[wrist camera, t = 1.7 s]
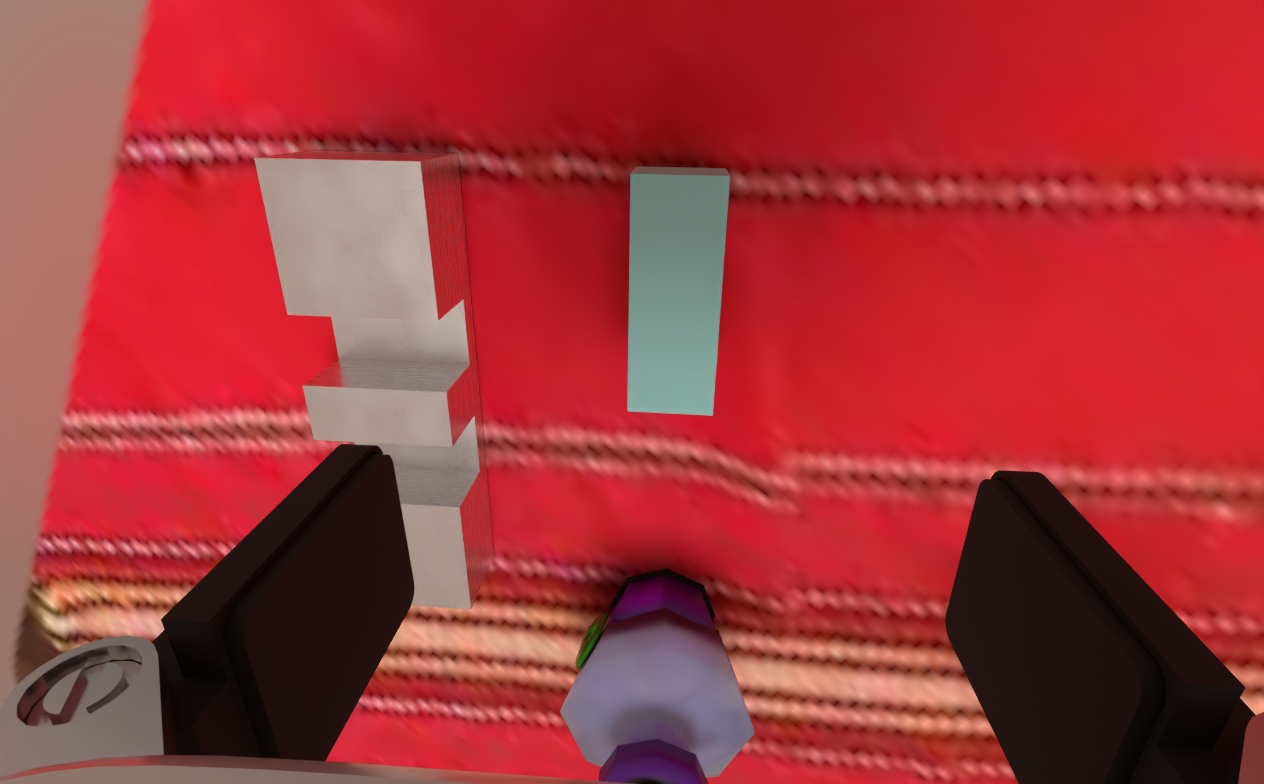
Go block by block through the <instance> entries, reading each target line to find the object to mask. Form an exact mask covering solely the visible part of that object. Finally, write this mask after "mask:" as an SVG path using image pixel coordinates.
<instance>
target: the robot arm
mask: <svg viewBox="0 0 1264 784" xmlns="http://www.w3.org/2000/svg"><path fill="white" fill-rule="evenodd" d="M414 589H415V586H414V578H413V573H412V567H411V561H410V555H409V550H408V544H407V538H406V532H405V527H404V521H403V515H402V509H401V504H400V498H399V492H398V486H397V481H396V475H395V469H394V464H393V460H392V458H391V456H389V455H386V454H383V452H382V450H381V448H380V447H378V446H377V445H354V444H341V445H340V446H338V447H337V448H336V449H335V450H334V451H333V452H332V453H331V454H330V455H329V456H328V457H327V458H326V459H325V460H324V461H323V462H322V463H321V464H319V465H318V466H317V467H316V468H315V469H314V470H313V471H312V472H311V473H310V474H309V475H308V476H307V477H306V478H305V479H304V480H303V481H302V482H301V483H300V484H299V485H298V486H297V487H296V488H295V489H294V490H293V491H292V492H291V493H290V494H289V495H288V496H287V497H286V498H285V499H284V500H283V501H282V502H281V503H280V504H279V505H278V506H277V507H276V508H275V509H273V510H272V511H271V512H270V513H269V514H268V515H267V516H266V517H265V518H264V519H263V520H262V521H261V522H260V523H259V524H258V525H257V526H256V527H255V528H254V529H253V530H252V531H251V532H250V533H249V534H248V535H247V536H246V537H245V538H244V539H243V540H242V541H241V542H240V543H239V544H238V545H237V546H236V547H235V548H234V549H233V550H232V551H231V552H230V553H228V554H227V555H226V556H225V557H224V558H223V559H222V560H221V561H220V562H219V563H218V564H217V565H216V566H215V567H214V568H213V569H212V570H211V571H210V572H209V573H208V574H207V575H206V576H205V577H204V578H203V579H202V580H201V581H200V582H199V583H198V584H197V585H196V586H195V587H194V588H193V589H192V590H191V591H190V592H189V593H188V594H187V595H186V596H185V597H184V598H182V599H181V600H180V601H179V602H178V603H177V604H176V605H175V606H174V607H173V608H172V609H171V610H170V611H169V612H168V613H167V614H166V615H165V616H164V617H163V618H162V619H161V621H162V623H163V626H164V629H165V630H164V631H163V632H162V633H161V634H160V635H159V636H158V637H157V638H156V639H155V640H154V641H153V642H152V643H151V642H149V641H147V640H146V639H144V638H140V637H133V636H120V637H110V638H105V639H101V640H98V641H94V642H90V643H87V644H84V645H81V646H79V647H77V648H74V649H72V650H70V651H67V652H65V653H63V654H61V655H59V656H57V657H56V658H54V659H52V660H51V661H49V662H47V663H45V664H44V665H42V666H40V667H39V668H37V669H36V670H35V671H34V672H32V673H31V674H30V675H29V676H27V677H26V678H25V679H24V680H22V681H21V682H20V683H19V684H18V685H17V686H16V687H15V688H14V690H13V691H12V692H11V693H10V694H9V695H8V696H7V698H6V699H5V700H4V702H3V705H2V707H1V709H0V784H631V783H618V782H605V781H592V780H579V779H566V778H553V777H540V776H526V775H512V774H498V773H484V772H471V771H457V770H443V769H429V768H415V767H401V766H387V765H374V764H360V763H346V762H328V761H325V760H326V759H327V757H328V755H329V753H330V751H331V750H332V748H333V746H334V744H335V742H336V741H337V739H338V737H339V735H340V733H341V731H342V730H343V728H344V726H345V724H346V722H347V721H348V719H349V717H350V715H351V713H352V712H353V710H354V708H355V706H356V704H357V703H358V701H359V699H360V697H361V695H362V694H363V692H364V690H365V688H366V686H367V685H368V683H369V681H370V679H371V677H372V675H373V674H374V672H375V670H376V668H377V666H378V665H379V663H380V661H381V659H382V657H383V656H384V654H385V652H386V650H387V648H388V647H389V645H390V643H391V641H392V639H393V638H394V636H395V634H396V632H397V630H398V629H399V627H400V625H401V623H402V621H403V619H404V618H405V616H406V614H407V612H408V610H409V609H410V607H411V604H412V601H413V597H414ZM946 630H947V634H948V637H949V640H950V642H951V644H952V646H953V648H954V650H955V652H956V654H957V656H958V659H959V661H960V663H961V665H962V667H963V669H964V671H965V673H966V675H967V677H968V679H969V681H970V683H971V685H972V688H973V690H974V692H975V694H976V696H977V698H978V700H979V702H980V704H981V706H982V708H983V710H984V712H985V714H986V717H987V719H988V721H989V723H990V725H991V727H992V729H993V731H994V733H995V735H996V737H997V739H998V741H999V743H1000V746H1001V748H1002V750H1003V752H1004V754H1005V756H1006V758H1007V760H1008V762H1009V764H1010V766H1011V768H1012V770H1013V772H1014V774H1015V777H1016V779H1017V781H1018V783H1019V784H1264V712H1263V713H1260V714H1258V715H1255V714H1254V713H1253V712H1252V711H1251V710H1250V708H1249V707H1248V706H1247V705H1246V704H1245V703H1244V702H1243V701H1242V700H1241V699H1240V697H1241V695H1242V693H1243V691H1244V689H1245V687H1244V686H1243V684H1242V683H1241V682H1240V681H1239V680H1238V679H1237V678H1236V677H1235V676H1234V675H1233V674H1232V673H1231V672H1230V671H1229V670H1228V669H1227V668H1226V667H1225V666H1224V664H1223V663H1222V662H1221V661H1220V660H1219V659H1218V658H1217V657H1216V656H1215V655H1214V654H1213V653H1212V652H1211V651H1210V650H1209V649H1208V648H1207V647H1206V646H1205V644H1204V643H1203V642H1202V641H1201V640H1200V639H1199V638H1198V637H1197V636H1196V635H1195V634H1194V633H1193V632H1192V631H1191V630H1190V629H1189V628H1188V627H1187V626H1186V624H1185V623H1184V622H1183V621H1182V620H1181V619H1180V618H1179V617H1178V616H1177V615H1176V614H1175V613H1174V612H1173V611H1172V610H1171V609H1170V608H1169V607H1168V605H1167V604H1166V603H1165V602H1164V601H1163V600H1162V599H1161V598H1160V597H1159V596H1158V595H1157V594H1156V593H1155V592H1154V591H1153V590H1152V589H1151V588H1150V587H1149V585H1148V584H1147V583H1146V582H1145V581H1144V580H1143V579H1142V578H1141V577H1140V576H1139V575H1138V574H1137V573H1136V572H1135V571H1134V570H1133V569H1132V568H1131V567H1130V565H1129V564H1128V563H1127V562H1126V561H1125V560H1124V559H1123V558H1122V557H1121V556H1120V555H1119V554H1118V553H1117V552H1116V551H1115V550H1114V549H1113V548H1112V546H1111V545H1110V544H1109V543H1108V542H1107V541H1106V540H1105V539H1104V538H1103V537H1102V536H1101V535H1100V534H1099V533H1098V532H1097V531H1096V530H1095V529H1094V528H1093V526H1092V525H1091V524H1090V523H1089V522H1088V521H1087V520H1086V519H1085V518H1084V517H1083V516H1082V515H1081V514H1080V513H1079V512H1078V511H1077V510H1076V509H1075V508H1074V506H1073V505H1072V504H1071V503H1070V502H1069V501H1068V500H1067V499H1066V498H1065V497H1064V496H1063V495H1062V494H1061V493H1060V492H1059V491H1058V490H1057V489H1056V488H1055V486H1054V485H1053V484H1052V483H1051V482H1050V481H1049V480H1048V479H1047V478H1046V477H1045V476H1044V475H1042V474H1041V473H1039V472H1023V471H997V472H995V473H994V475H993V476H992V477H991V480H990V479H985V480H983V481H982V482H981V483H980V486H979V488H978V492H977V496H976V500H975V503H974V507H973V511H972V515H971V519H970V523H969V527H968V531H967V535H966V539H965V542H964V546H963V550H962V554H961V558H960V562H959V566H958V570H957V574H956V578H955V581H954V585H953V589H952V593H951V597H950V601H949V605H948V609H947V613H946Z"/></svg>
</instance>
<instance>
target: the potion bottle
mask: <svg viewBox="0 0 1264 784" xmlns="http://www.w3.org/2000/svg"><path fill="white" fill-rule="evenodd" d="M611 608H612V610H613V611H612V614H611V616H610V618H609V620H608V622H607V624H606V621H607V619H608V616H609V615H608V614H603V615H602V616H601V617H598V618H596V620H595V621H594V622H593V624H592V625H590V626H589V629H588V631H587V633H586V635H585V636H584V638H583V641H582V644H581V647H580V650H579V652H578V655H577V658H576V667H577V669H578V670H579V669H580V668H581V669H580V671H579V673H578V675H577V677H576V679H575V681H574V683H573V685H572V687H571V690H570V692H569V694H568V696H567V698H566V700H565V702H564V704H563V706H562V708H561V711H560V712H561V714H562V716H563V718H564V720H565V722H566V724H567V725H568V727H569V729H570V731H571V733H572V735H573V737H574V739H575V740H576V742H577V744H578V746H579V748H580V750H581V752H582V754H583V755H584V757H585V759H586V761H588V762H590V763H593V764H595V765H598V766H600V767H602V768H601V769H600V774H599V781H605V782H618V783H631V784H708V781H707V779H706V778H708V777H715V776H719V774H720V773H721V772H722V771H723V770H724V769H725V767H726V766H727V765H728V764H729V763H730V762H731V760H732V759H733V758H734V757H735V756H736V754H737V753H738V752H739V751H740V750H741V749H742V747H743V746H744V745H745V744H746V743H747V742H748V740H749V739H750V738H751V737H752V736H753V735H754V733H755V732H754V729H753V726H752V723H751V720H750V717H749V714H748V711H747V709H746V706H745V703H744V700H743V697H742V694H741V691H740V688H739V685H738V682H737V679H736V676H735V673H734V671H733V668H732V666H731V663H730V660H729V658H728V655H727V652H726V650H725V647H724V644H723V642H722V639H721V636H720V634H719V631H718V630H715V628H714V625H713V622H712V620H713V619H714V617H715V614H714V612H713V609H712V607H711V604H710V601H709V599H708V596H707V593H706V591H705V588H704V585H701V584H699V583H697V582H695V581H692V580H690V579H688V578H686V577H683V576H681V575H679V574H677V573H674V572H672V571H670V570H668V569H665V570H661V571H656V572H652V573H647V574H643V575H638V576H634V577H629V578H627V580H626V581H625V583H624V585H623V586H622V588H621V589H620V591H619V593H618V594H617V596H616V598H615V599H614V601H613V602H612V604H611ZM605 624H606V626H605ZM604 626H605V629H604V630H603V628H604ZM602 630H603V632H602ZM601 632H602V633H601ZM600 634H601V635H600ZM597 639H598V640H597Z"/></svg>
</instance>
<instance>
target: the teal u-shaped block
mask: <svg viewBox="0 0 1264 784" xmlns="http://www.w3.org/2000/svg"><path fill="white" fill-rule="evenodd" d="M729 185H730V175H729V173H728V171H727V169H726V168H687V167H642V166H636V168H635V169H634V170H633V171H632V173H631V174H630V250H629V330H628V410H627V411H629V412H650V413H671V414H692V415H712V416H713V405H714V391H715V378H716V364H717V350H718V336H719V323H720V309H721V295H722V281H723V268H724V254H725V240H726V227H727V213H728V199H729Z"/></svg>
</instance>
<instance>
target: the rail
mask: <svg viewBox="0 0 1264 784" xmlns="http://www.w3.org/2000/svg"><path fill="white" fill-rule="evenodd" d="M254 159H255V164H256V168H257V173H258V178H259V182H260V187H261V192H262V197H263V201H264V206H265V211H266V215H267V220H268V225H269V230H270V234H271V239H272V244H273V248H274V253H275V258H276V263H277V267H278V272H279V277H280V281H281V286H282V291H283V295H284V300H285V305H286V310H287V314H288V315H306V316H331V319H332V324H333V329H334V335H335V340H336V346H337V351H338V357H339V359H338V360H337V361H335V362H334V363H333V364H331V365H330V366H329V367H327V368H326V369H325V370H323V371H322V372H320V373H319V374H318V375H316V376H315V377H314V378H312V379H311V380H309V381H308V382H307V383H305V384H304V385H303V390H304V394H305V399H306V404H307V409H308V413H309V418H310V423H311V427H312V432H313V437H314V440H331V441H349V442H354V444H355V445H377V446H378V447H380V448H381V450H382V452H383V454H386V455H389V456H391V458H392V460H393V464H394V469H395V475H396V481H397V486H398V492H399V498H400V504H401V509H402V515H403V521H404V527H405V532H406V538H407V544H408V550H409V555H410V561H411V567H412V573H413V578H414V586H415V589H414V597H413V601H412V604H411V605H415V606H429V607H443V608H457V609H471V608H472V606H473V604H474V601H475V599H476V597H477V595H478V592H479V590H480V588H481V585H482V583H483V581H484V578H485V576H486V574H487V571H488V569H489V567H490V564H491V562H492V560H493V557H494V546H493V535H492V524H491V513H490V502H489V491H488V480H487V469H486V458H485V447H484V436H483V425H482V414H481V403H480V391H479V380H478V369H477V358H476V347H475V336H474V325H473V314H472V303H471V292H470V281H469V270H468V259H467V248H466V236H465V225H464V214H463V203H462V192H461V181H460V170H459V159H458V153H421V152H375V151H328V150H312V151H304V152H296V153H288V154H281V155H273V156H265V157H257V158H254Z"/></svg>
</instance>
